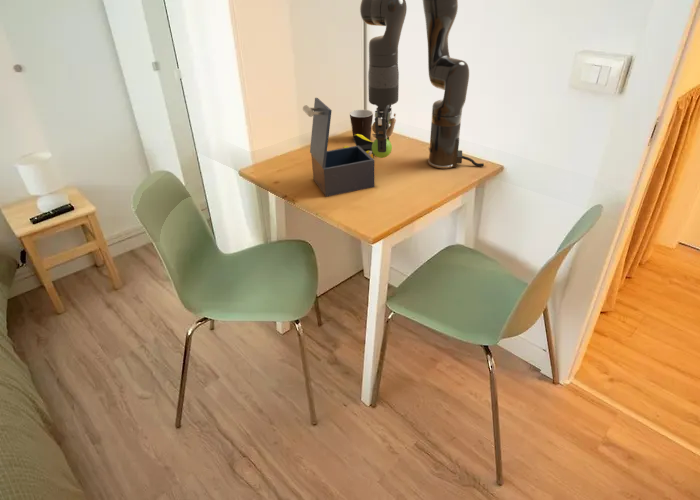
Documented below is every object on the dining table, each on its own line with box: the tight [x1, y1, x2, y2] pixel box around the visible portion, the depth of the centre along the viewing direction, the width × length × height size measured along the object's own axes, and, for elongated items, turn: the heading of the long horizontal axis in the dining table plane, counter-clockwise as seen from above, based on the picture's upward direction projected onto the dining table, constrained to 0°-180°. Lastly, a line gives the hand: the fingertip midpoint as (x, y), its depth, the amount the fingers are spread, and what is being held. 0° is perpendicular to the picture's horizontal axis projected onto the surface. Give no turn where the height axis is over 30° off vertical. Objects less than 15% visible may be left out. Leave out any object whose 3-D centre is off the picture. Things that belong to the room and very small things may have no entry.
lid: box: [302, 97, 333, 168], centre depth 133 cm, size 17×13×5 cm
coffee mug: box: [349, 109, 374, 141], centre depth 172 cm, size 12×9×10 cm
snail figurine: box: [371, 113, 397, 159], centre depth 123 cm, size 5×6×12 cm
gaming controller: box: [342, 134, 376, 159], centre depth 162 cm, size 15×6×10 cm
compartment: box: [310, 145, 375, 198], centre depth 143 cm, size 16×13×9 cm
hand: (383, 146), depth 125 cm, fingers closed on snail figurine, 5 cm apart
